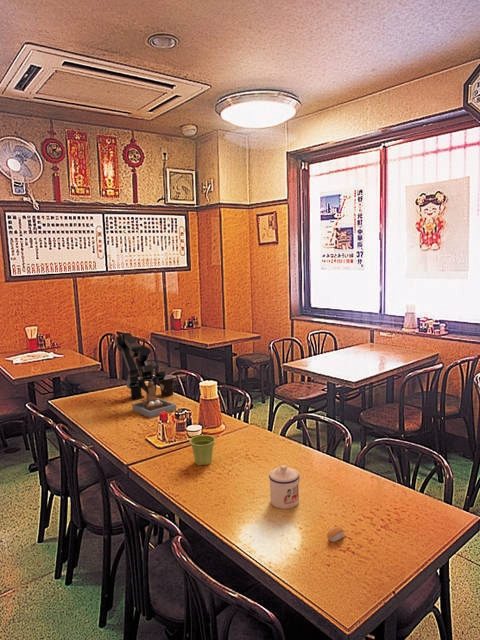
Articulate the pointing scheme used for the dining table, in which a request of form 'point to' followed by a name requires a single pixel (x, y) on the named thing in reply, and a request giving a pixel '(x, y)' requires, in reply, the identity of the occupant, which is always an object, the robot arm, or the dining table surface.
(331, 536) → the sushi
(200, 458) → the plant pot
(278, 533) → the dining table surface
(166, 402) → the bin
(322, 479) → the dining table surface
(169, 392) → the coffee mug
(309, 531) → the dining table surface
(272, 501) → the teacup with lid
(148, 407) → the brown wooden box
